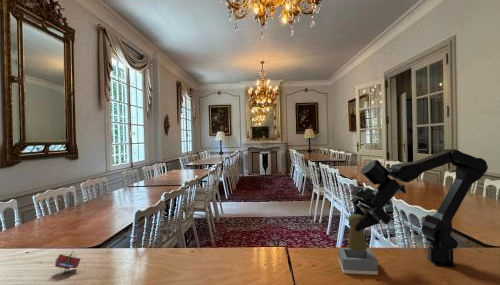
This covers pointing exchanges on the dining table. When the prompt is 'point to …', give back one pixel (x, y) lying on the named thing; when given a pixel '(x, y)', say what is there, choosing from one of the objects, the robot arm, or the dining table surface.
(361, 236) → the cork
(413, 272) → the dining table surface
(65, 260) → the geometric puzzle
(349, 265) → the box
